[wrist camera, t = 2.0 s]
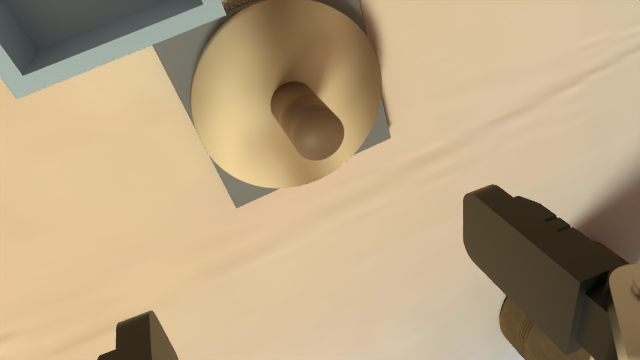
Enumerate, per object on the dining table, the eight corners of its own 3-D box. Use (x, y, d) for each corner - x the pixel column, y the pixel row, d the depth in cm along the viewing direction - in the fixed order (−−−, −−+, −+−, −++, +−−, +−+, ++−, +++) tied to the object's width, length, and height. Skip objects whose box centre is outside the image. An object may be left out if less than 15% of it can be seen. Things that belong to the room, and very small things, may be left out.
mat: (345, -37, 28) (350, -35, 27) (385, 133, 34) (390, 137, 34) (151, 41, 26) (152, 45, 25) (234, 202, 33) (236, 208, 32)
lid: (350, -35, 27) (399, -20, 22) (390, 137, 34) (434, 177, 29) (152, 44, 25) (158, 79, 21) (236, 208, 32) (255, 262, 27)
